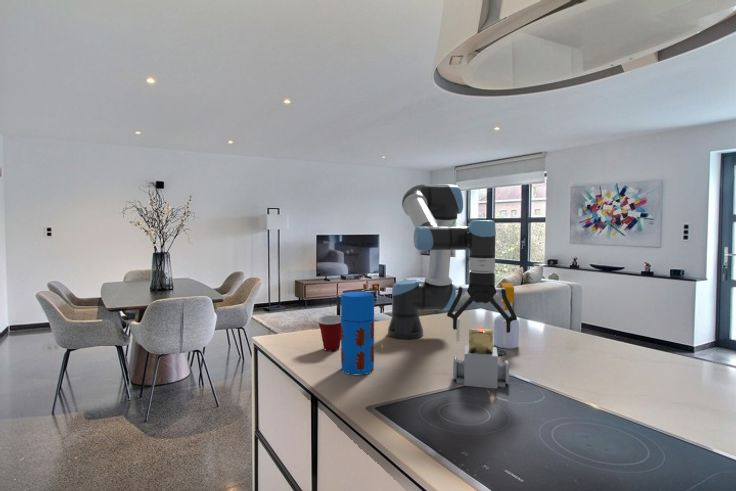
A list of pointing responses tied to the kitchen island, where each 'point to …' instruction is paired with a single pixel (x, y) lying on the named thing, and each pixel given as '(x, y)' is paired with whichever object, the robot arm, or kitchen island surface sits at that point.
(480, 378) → the grey box with flanges
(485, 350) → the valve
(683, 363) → the kitchen island surface
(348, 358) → the thermos
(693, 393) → the kitchen island surface
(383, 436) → the kitchen island surface
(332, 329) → the plastic cup
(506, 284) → the soap bottle
